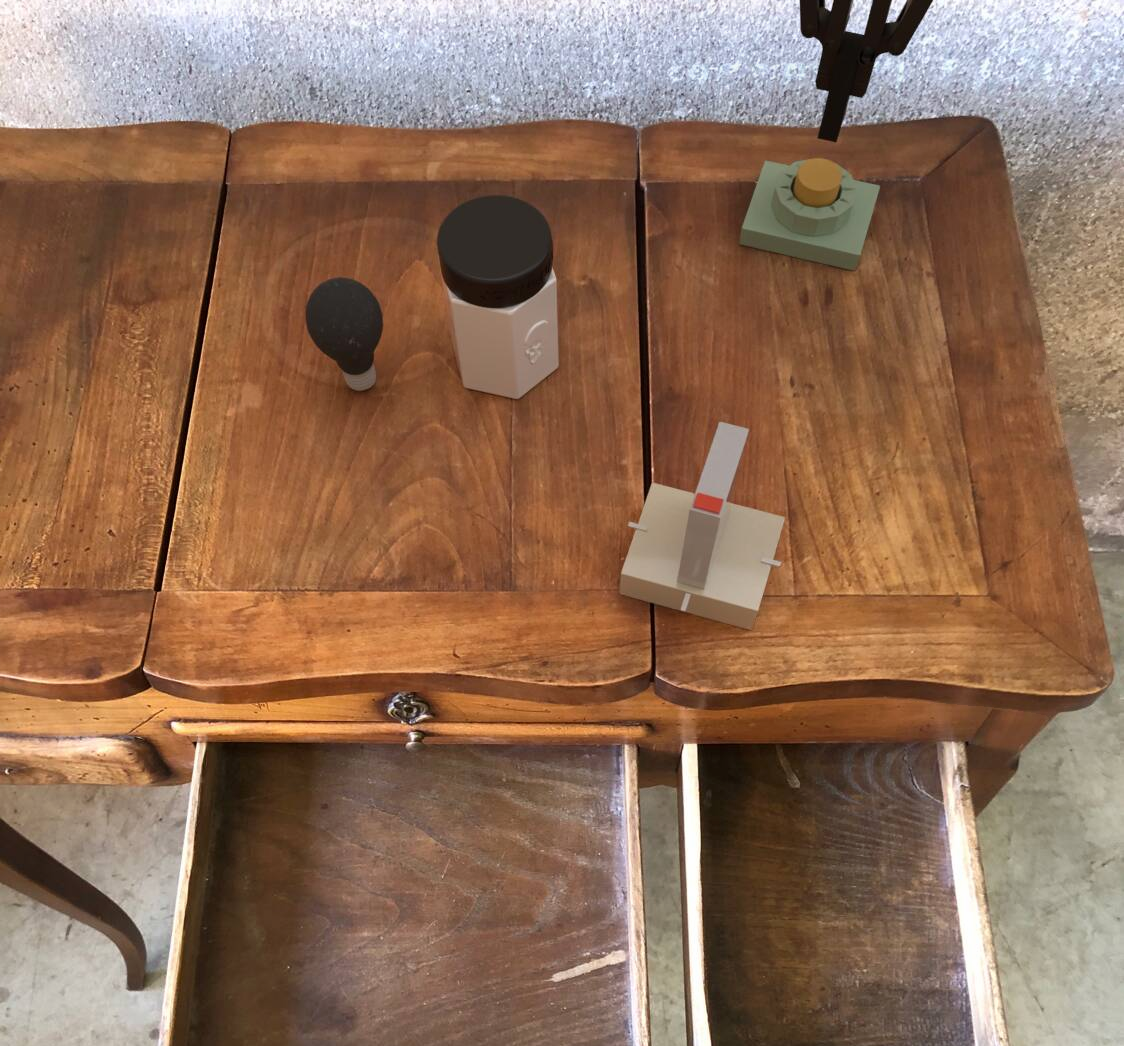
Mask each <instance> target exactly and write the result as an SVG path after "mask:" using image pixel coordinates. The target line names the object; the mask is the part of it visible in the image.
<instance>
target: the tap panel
mask: <svg viewBox="0 0 1124 1046" xmlns="http://www.w3.org/2000/svg"><path fill="white" fill-rule="evenodd" d="M694 495H695V492H692V491H691V492H690V491H686V490H683V489H679V488H676V487H671V486H668V485H664V484H660V483H656V482H651V484H650V487H649V489H648V492H647V496H646V498H645V502H644V505H643V507H642V510H641V514H640V516H639V519H638V521H637V523H636V522H633V521H628V525H627V527H628V528H631V529H635V530H634V533H633V537H632V539H631V542H630V545H629V547H628V551H627V554H626V556H625V560H624V563H623V566H622V569H621V571H620V579H619V591H618V593H619V595H622V596H625V597H629V598H633V599H636V600H640V601H642V602H647V603H649V604H650V603H651V604H655V605H658V606H661V607H665V608H668V609H671V610H676V611H680V612H683V613H687V614H691V615H693V616H698V617H702V618H704V619H708V620H712V621H716V622H718V623H719V622H720V623H724V624H727V625H730V626H734V627H737V628H741V629H746V630H748V631H752V630H753V628H754V625H755V623H756V619H757V616H758V613H759V610H760V607H761V603H762V601H763V600H762V599H763V596H764V593H765V589H766V586H767V582H768V579H769V576H770V573H771V569H772V566H774V567H777V568H781V565H782V561H779V560H775V559H774V558H775V555H776V551H777V548H778V544H779V542H780V538H781V534H782V530H783V527H784V524H785V520H786V517H785V516H783V515H782V516H781V515H779V514H774V513H770V512H767V511H764V510H760V509H755V508H752V507H747V506H744V505H740V504H737V503H733V502H732V503H731V508H730V511H729V514H728V517H727V520H726V523H725V526H724V529H723V533H722V536H721V539H720V542H719V545H718V548H717V551H716V554H715V557H714V560H713V564H712V567H711V570H710V573H709V576H708V579H707V582H706V585H705V588H704V589H702V588H698V587H695V586H691V585H688V584H684V583H680V582H677V578H678V572H679V567H680V561H681V555H682V550H683V544H684V538H685V533H686V527H687V522H688V516H689V510H690V507H691V504H692V501H693V498H694Z"/></svg>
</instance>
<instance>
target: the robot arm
mask: <svg viewBox="0 0 1124 1046" xmlns="http://www.w3.org/2000/svg"><path fill="white" fill-rule="evenodd" d="M892 2H893V0H872V2H871V6H870V8H869V9H870V10H869V13H868V17H867V21H866V25H865V28H864V32H863V34H862V33H857V32H854V31H853V32H852V31H847V27H848V24H849V20H850V18H851V12H852V8H853V4H854V0H832V5H831V7H830V9H828V8H826V0H799V24H800V25H799V26H800V27H799V29H800V34H801V35H802V37H804V38H805V39H813V38H814V39H816V40H817V41H819V43H820V45H821V47H822V49H821V50H822V51H821V55H820V59H819V63H818V67H817V73H816V75H815V76H816V77H815V81H814V83H815V89H816V90H820V91H824V92H827V97H826V101H825V105H824V109H823V113H822V117H821V121H820V125H819V131H818V134H817V139H818V140H823V141H827V142H832V143H837V142H838V139H839V136H840V133H841V129H842V127H843V123H844V120H845V117H846V112H847V108H848V105H849V100H850V97H855V98H859V99H863V97H864V96H865V94H866V93H867V91H868V88H869V86H870V85H869V84H870V81H871V78H872V75H873V74H872V73H873V71H874V67H875V64H876V59H877V58H878V57H879V56H881V55H883V54H889V55H891V56H892V57H893V56H894V57H898V56H900V55H902V54H903V53H904V52H905V51H906V49H907V47H908V45H909V44H910V42H911V40H912V38H913V36H914V35H915V33H916V32H917V29H918V28H919V27H920V25H921V22H922V21H923V20H924V17H925V16H926V14H927V12H928V11H929V9H930V7H931V5H932V4H933V2H934V0H906V1H905V3H904V5H903V7H902V9H901V10H900V12H899V13H898V16H897V17H896V19H895V21H890V22H887V21H888V17H889V14H890V9H891V6H892Z"/></svg>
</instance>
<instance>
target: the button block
mask: <svg viewBox="0 0 1124 1046" xmlns="http://www.w3.org/2000/svg"><path fill="white" fill-rule="evenodd" d="M810 159H811V158H808V159H802V160H797V161H794V162H793V163H791V164H790V165H788V164H783V163H779V162H775V161H771V160H764V162H763V165H762V166H761V167H762V168H761V170H760V173H759V176H758V180H757V182H756V185H755V188H754V191H753V193H752V197H751V199H750V203H749V205H748V207H747V208H748V209H747V212H746V214H745V217H744V219H743V223H742V226H741V228H740V229H741V230H740V235H739V240H738V244H739V245H740V246H745V247H750V248H753V249H758V250H763V251H767V252H771V253H775V254H779V255H784V256H787V257H788V256H789V257H793V258H797V259H801V260H804V261H805V260H806V261H810V262H814V263H819V264H822V265H826V266H827V265H828V266H830V267H836V268H839V269H845V270H849V271H853V272H855V271H856V270H857V267H858V264H859V262H860V258H861V254H862V252H863V248H864V245H865V241H866V238H867V235H868V230H869V227H870V223H871V220H872V217H873V213H874V210H875V206H876V203H877V199H878V196H879V193H880V189H881V185H879V184H873V183H870V182H866V181H860V180H857V179H854V178H853V176H852V174H851V173H850V172H849V171H847V170H846V169H844V168H843V167H842V166H840V165H839V164H838V163H835V162H834V163H835V164H836V165H837V166H838V167H839V168H840V170H841V173H842V180H841V183H840V187H839V191H838V194H837V197H836V199H835V201H834V202H833V203H832V204H831V205H829V206H827V207H821V208H814V207H810V206H805V205H803V204H802V203H800V202H799V201H798V200H797V199H796V198H795V196H794V192H793V190H794V185H795V180H796V176H797V171H798V169H799V167H800V166H801V164H802V163H804V162H805V161H807V160H810Z"/></svg>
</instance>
